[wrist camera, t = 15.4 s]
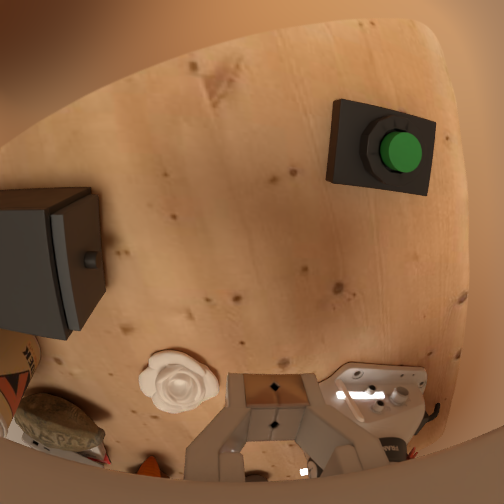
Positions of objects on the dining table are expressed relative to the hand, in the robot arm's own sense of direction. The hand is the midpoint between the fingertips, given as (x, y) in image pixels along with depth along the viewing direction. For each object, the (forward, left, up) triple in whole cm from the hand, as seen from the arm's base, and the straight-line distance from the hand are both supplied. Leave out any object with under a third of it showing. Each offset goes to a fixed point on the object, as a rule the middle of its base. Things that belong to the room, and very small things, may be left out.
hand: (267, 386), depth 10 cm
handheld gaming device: (+22, +44, -17) cm, 52 cm away
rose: (+6, +20, -23) cm, 31 cm away
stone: (+26, +34, -17) cm, 46 cm away
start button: (-14, -9, -19) cm, 25 cm away
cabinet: (+22, +3, -22) cm, 32 cm away
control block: (-14, -9, -22) cm, 27 cm away
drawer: (+20, +3, -21) cm, 29 cm away
